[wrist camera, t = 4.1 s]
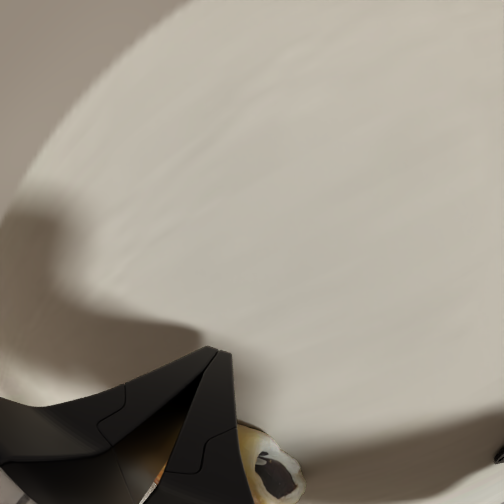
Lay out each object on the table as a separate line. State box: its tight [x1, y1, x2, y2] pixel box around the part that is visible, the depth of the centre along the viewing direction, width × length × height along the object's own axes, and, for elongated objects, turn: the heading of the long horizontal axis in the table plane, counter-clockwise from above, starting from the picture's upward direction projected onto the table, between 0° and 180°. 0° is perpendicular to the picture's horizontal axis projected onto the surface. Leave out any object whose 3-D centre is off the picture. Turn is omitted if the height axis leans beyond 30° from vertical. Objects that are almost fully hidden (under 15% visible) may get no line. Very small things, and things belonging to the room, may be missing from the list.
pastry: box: [154, 424, 306, 504], centre depth 11 cm, size 9×7×4 cm
